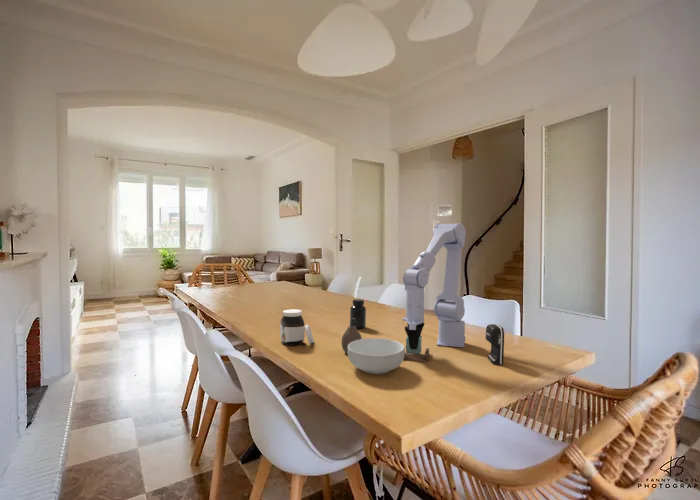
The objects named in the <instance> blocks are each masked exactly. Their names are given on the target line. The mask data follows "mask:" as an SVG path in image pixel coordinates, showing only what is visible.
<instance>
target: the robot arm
mask: <svg viewBox="0 0 700 500" xmlns="http://www.w3.org/2000/svg"><path fill="white" fill-rule="evenodd" d="M466 234H467V231H466V228H465V226H464V225H463V223H461V222H457V223H437V224H435V226H434V228H433V229H432V239H431V241H430V243H429V245H428V246H427V248H426V251H422V252H421V253H420V254H419V255H418V257H417V258H416V260H415V261H414V263H413V265H411V268H407V270H405V272H404V273H403V276H402V282H403V284H404V290H405V291H406V296H405V297H406V300H405V301H406V303H405V304H406V305H405V306H406V307H405V315H406V316H405V317H402V322H404V321H405V322H406V325H407V326H406V325H405V326H404V331H405V334H406V335H407V336H408V340H409V346H410V349H415V350H417V347H418V342H419V337H420V336H422V333H423V329H424V326H425V287H426V286H427V284H428V282H429V277H430V272H431V271H432V270H433V269H432V268H433V267H434V266H435V264H436V262H437V261H436V260H437V259H436V257H437V255H438V253H439V252H440V251H441V249H442V248H443V247H444V248H445V249H446V257H445V258H446V260H445V267H444V268H445V269H444V279H443V287H442V288H443V289H442V292H441V293H440V294H438V295H437V296H436V298H435V303H434V305H433V312H434V315H435V316H436V319H438V338H437V340H436V345H437V346H444V347H453V348H454V347H455V348H465V342H466V336H465V335H466V333H465V332H466V331H465V330H466V327H465V326H466V325H465V324H466V323H465V322H466V321H465V320H462V319H463V318H464V316H465V313H466V309H465V300H464V298H462V297H461V295H459V293H458V291H459V281H460V273H461V272H460V271H461V263H462V262H461V260H462V251H463V248H464V247H465V242H466ZM407 336H406V337H407Z"/></svg>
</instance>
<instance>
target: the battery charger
mask: <svg viewBox="0 0 700 500" xmlns="http://www.w3.org/2000/svg"><path fill="white" fill-rule="evenodd" d="M485 340H486V341H487V342H488V343H490V352H489V354H488V356H487V359H488V360H489V361H490V362H491V364H493V365H504V359H505V358H504V355H505V353H504V351H505V329H504V328H503V327H502V326H501V325H499V324H496V323H495V324H493V323H491V324H487V325H486V329H485Z"/></svg>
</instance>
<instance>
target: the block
mask: <svg viewBox="0 0 700 500" xmlns="http://www.w3.org/2000/svg"><path fill="white" fill-rule="evenodd" d="M422 337H423V336H422V335H420V337H419V342H418V347H417V350H415V349H410V346H409V340H408V336H406V337H405V353H414V354H422V339H423V338H422Z"/></svg>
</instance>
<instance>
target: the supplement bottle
mask: <svg viewBox="0 0 700 500" xmlns="http://www.w3.org/2000/svg"><path fill="white" fill-rule="evenodd" d="M364 305H365V300H364V299H359V298H356V299H355V298H354V299H352V306H350V308H349V309H350V310H349V326H355V327H356V329H357V330H364V329H365V328H366V326H367V325H366V323H367V322H366V321H367V318H366V317H367V308H366V306H364Z"/></svg>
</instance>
